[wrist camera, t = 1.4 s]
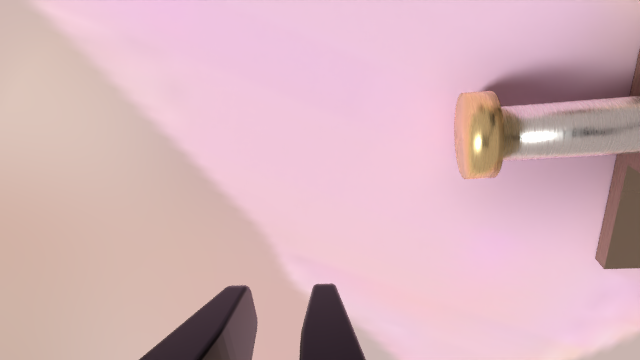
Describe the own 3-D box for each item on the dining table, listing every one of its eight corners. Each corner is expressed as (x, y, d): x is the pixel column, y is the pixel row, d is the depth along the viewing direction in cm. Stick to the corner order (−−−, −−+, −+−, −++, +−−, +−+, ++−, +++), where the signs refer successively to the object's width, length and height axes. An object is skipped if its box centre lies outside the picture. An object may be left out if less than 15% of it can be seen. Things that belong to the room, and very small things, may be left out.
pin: (802, 55, 14) (911, 72, 11) (769, 140, 16) (860, 175, 13) (455, 84, 16) (475, 105, 13) (453, 159, 17) (470, 194, 14)
